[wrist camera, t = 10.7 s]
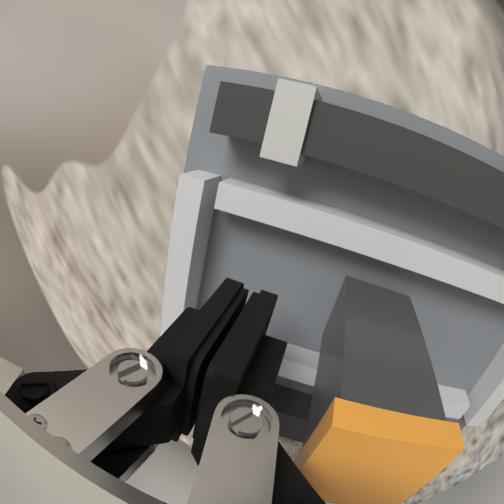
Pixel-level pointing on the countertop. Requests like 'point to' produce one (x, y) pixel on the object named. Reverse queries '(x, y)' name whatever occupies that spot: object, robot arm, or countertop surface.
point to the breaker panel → (339, 248)
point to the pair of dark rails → (351, 167)
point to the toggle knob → (375, 403)
